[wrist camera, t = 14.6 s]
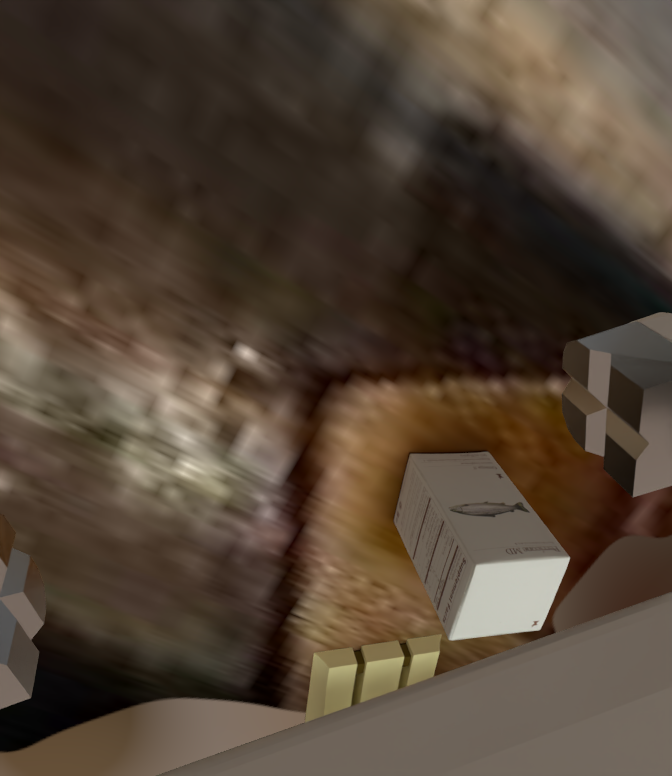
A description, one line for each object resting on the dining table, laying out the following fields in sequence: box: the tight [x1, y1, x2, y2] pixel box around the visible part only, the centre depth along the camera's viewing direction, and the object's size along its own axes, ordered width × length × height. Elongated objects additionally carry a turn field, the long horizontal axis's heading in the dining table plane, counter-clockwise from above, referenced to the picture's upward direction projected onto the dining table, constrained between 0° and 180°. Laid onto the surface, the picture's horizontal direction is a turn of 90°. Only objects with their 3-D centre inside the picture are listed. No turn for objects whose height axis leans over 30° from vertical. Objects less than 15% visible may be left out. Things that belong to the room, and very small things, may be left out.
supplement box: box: [394, 452, 570, 640], centre depth 48 cm, size 7×7×13 cm
